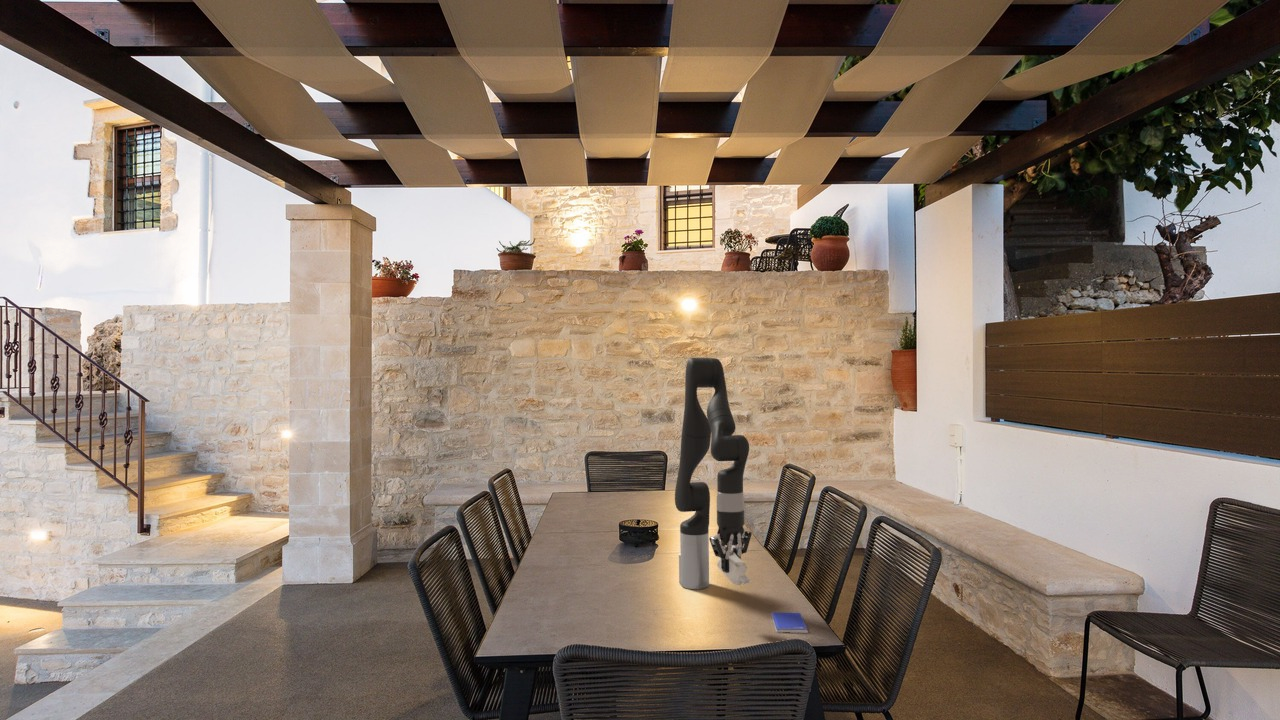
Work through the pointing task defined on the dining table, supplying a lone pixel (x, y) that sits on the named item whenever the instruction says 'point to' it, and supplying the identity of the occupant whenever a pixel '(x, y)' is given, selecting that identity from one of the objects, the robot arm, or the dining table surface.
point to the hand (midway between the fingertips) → (731, 570)
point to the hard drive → (789, 622)
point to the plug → (735, 569)
